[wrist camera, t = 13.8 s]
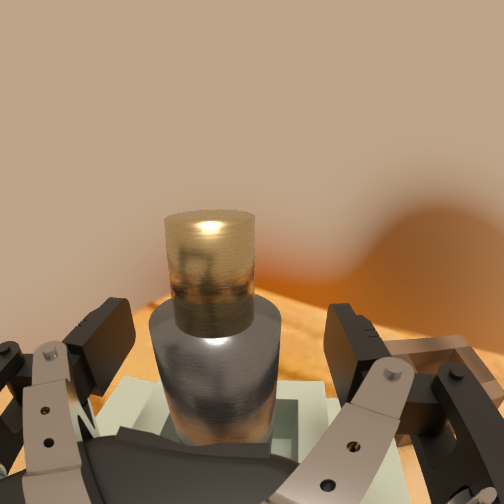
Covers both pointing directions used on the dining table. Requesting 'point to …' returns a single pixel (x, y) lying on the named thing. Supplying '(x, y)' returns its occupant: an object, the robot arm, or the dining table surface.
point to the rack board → (284, 430)
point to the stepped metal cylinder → (216, 332)
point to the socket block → (436, 353)
